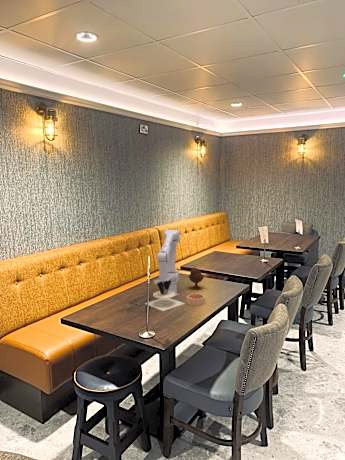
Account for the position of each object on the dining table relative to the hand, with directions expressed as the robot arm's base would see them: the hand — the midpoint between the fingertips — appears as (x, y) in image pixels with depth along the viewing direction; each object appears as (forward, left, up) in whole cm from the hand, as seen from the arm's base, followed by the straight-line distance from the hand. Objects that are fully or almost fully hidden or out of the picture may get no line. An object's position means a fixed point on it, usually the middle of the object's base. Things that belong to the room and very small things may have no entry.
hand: (164, 292), depth 227 cm
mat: (0, 0, -8) cm, 8 cm away
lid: (0, 0, -1) cm, 1 cm away
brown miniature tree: (-8, +37, -8) cm, 39 cm away
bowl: (+13, +15, -8) cm, 21 cm away
